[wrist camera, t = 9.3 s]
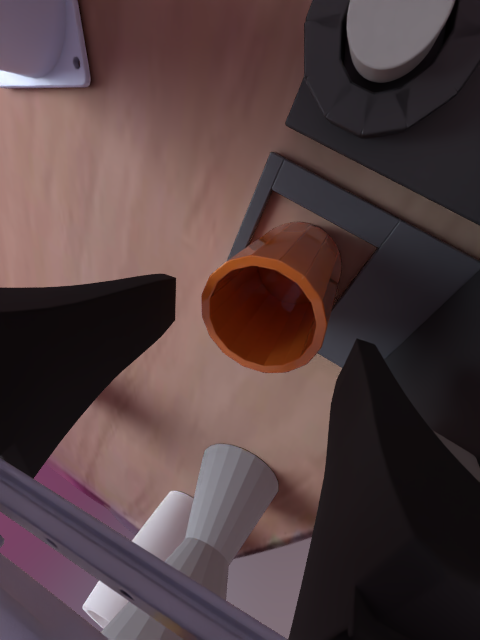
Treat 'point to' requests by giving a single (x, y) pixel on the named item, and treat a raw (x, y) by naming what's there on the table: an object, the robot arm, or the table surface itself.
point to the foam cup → (156, 538)
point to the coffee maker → (398, 304)
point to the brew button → (393, 34)
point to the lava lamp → (209, 531)
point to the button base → (399, 107)
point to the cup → (274, 298)
